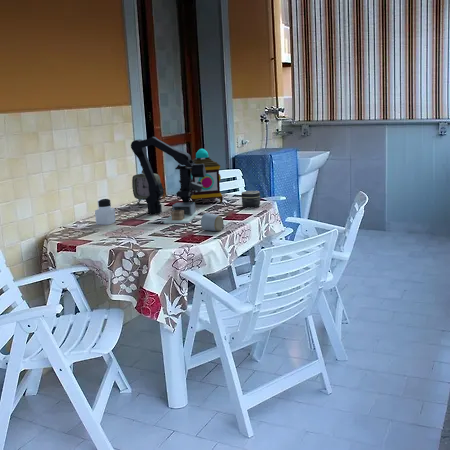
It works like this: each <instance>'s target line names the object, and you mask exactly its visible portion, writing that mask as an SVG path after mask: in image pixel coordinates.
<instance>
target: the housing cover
mask: <svg viewBox="0 0 450 450" xmlns="http://www.w3.org/2000/svg"><path fill="white" fill-rule="evenodd" d="M171 208H172V211H174V210H184V212H190V215H193V214H194V213H195V212H197V211H196V201H195V202H192V201H190V202H183V201H182V202H180V201H179V202H176V203H173V204H172V207H171Z"/></svg>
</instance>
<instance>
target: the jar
mask: <svg viewBox="0 0 450 450" xmlns="http://www.w3.org/2000/svg"><path fill="white" fill-rule="evenodd" d="M240 197H241V204H242V206H243V208H245V207H246V208H247V207H250V208H249V209H252V208H251V207H254V208H258V206H259V207H260V205H261V192H260V191H259V190H245V191H242V192H241V196H240ZM247 209H248V208H247Z"/></svg>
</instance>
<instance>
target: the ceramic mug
mask: <svg viewBox="0 0 450 450" xmlns="http://www.w3.org/2000/svg"><path fill="white" fill-rule="evenodd" d="M200 226H201V229H202V230H204V231H211V232H219V231H220V232H221V230H222V229H224V228H225V223H224V218H223V217H222V216H221V215H219V214H214V213H208V212H206V213H203V215H202V216H201V218H200Z"/></svg>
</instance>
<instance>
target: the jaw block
mask: <svg viewBox="0 0 450 450" xmlns="http://www.w3.org/2000/svg"><path fill="white" fill-rule="evenodd" d="M171 215H172V220H183V219H184V210H174V211H173V210H172V211H171Z"/></svg>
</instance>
